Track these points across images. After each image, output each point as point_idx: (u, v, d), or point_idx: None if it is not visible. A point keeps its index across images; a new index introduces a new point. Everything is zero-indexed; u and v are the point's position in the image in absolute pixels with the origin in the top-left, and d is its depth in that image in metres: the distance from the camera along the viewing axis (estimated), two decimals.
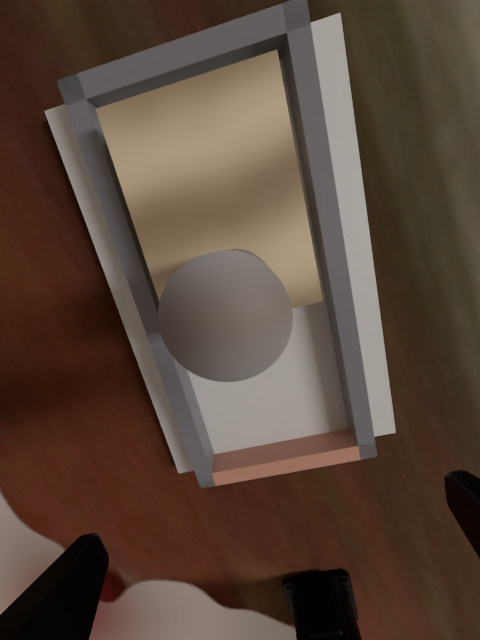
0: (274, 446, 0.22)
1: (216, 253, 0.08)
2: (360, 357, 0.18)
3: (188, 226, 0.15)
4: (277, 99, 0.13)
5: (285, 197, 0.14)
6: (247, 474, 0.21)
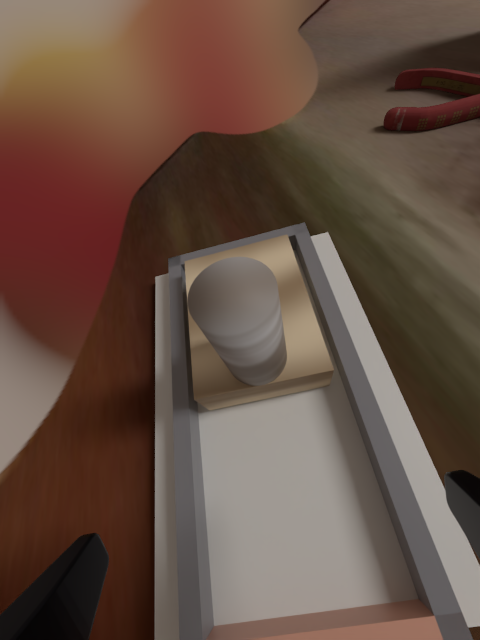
0: (303, 617, 0.15)
1: (231, 257, 0.13)
2: (394, 449, 0.16)
3: None
4: (288, 252, 0.22)
5: (294, 297, 0.20)
6: None
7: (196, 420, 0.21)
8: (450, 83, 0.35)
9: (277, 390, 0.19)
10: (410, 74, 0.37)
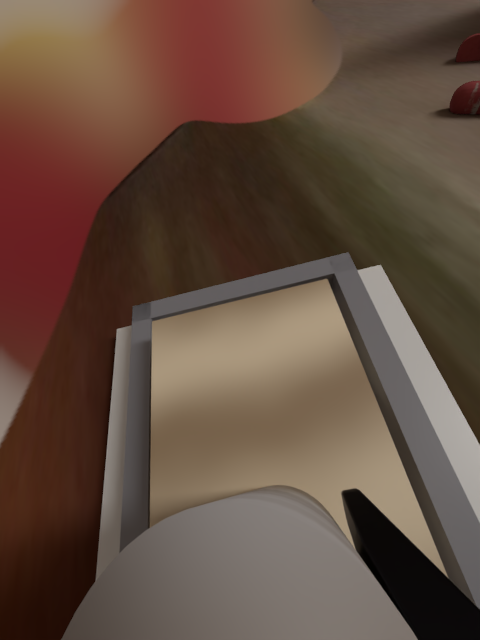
0: None
1: (229, 507, 0.03)
2: None
3: (218, 443, 0.11)
4: (331, 313, 0.12)
5: (354, 413, 0.10)
6: None
7: None
8: None
9: None
10: None
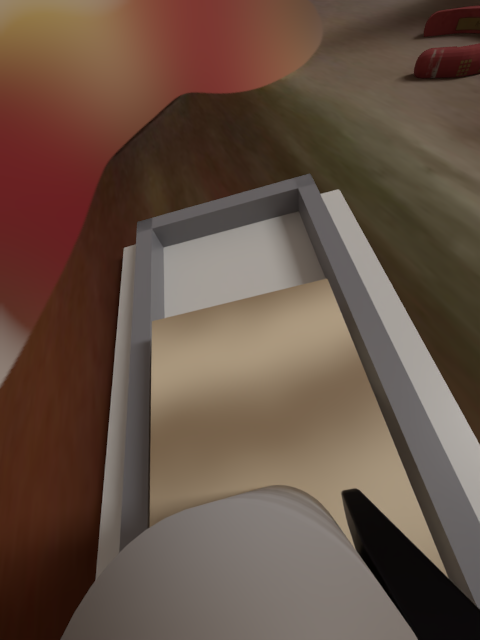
0: None
1: (228, 506, 0.03)
2: (455, 479, 0.10)
3: (218, 443, 0.11)
4: (331, 313, 0.12)
5: (354, 413, 0.10)
6: None
7: None
8: None
9: None
10: (444, 15, 0.31)
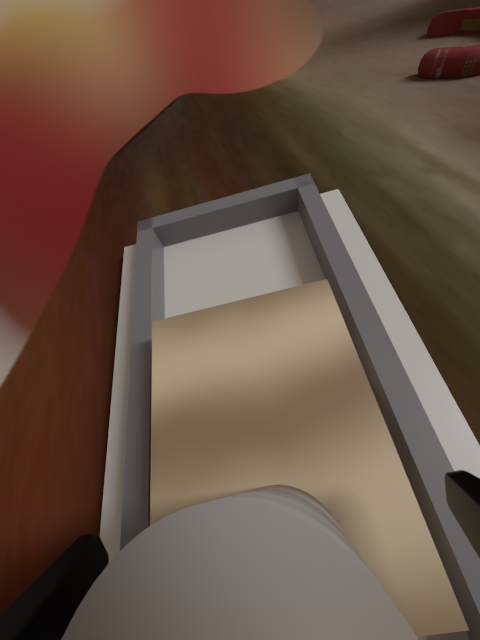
0: None
1: (229, 504, 0.03)
2: None
3: (218, 443, 0.11)
4: (331, 313, 0.12)
5: (353, 413, 0.10)
6: None
7: None
8: None
9: None
10: (447, 16, 0.31)
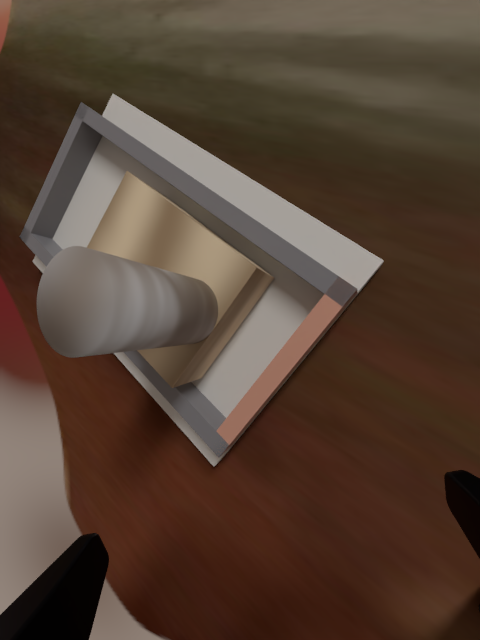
0: None
1: (47, 265, 0.11)
2: (247, 216, 0.17)
3: None
4: (141, 188, 0.19)
5: (178, 228, 0.17)
6: (247, 409, 0.17)
7: None
8: None
9: (233, 321, 0.18)
10: None
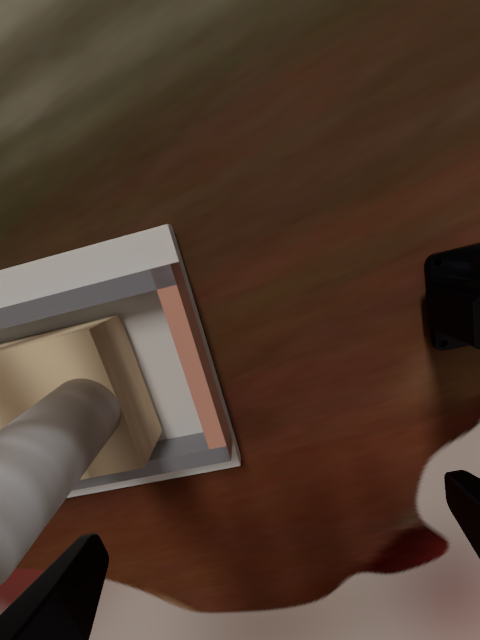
0: None
1: None
2: (41, 299, 0.16)
3: None
4: None
5: None
6: (208, 413, 0.18)
7: None
8: None
9: (128, 375, 0.17)
10: None
